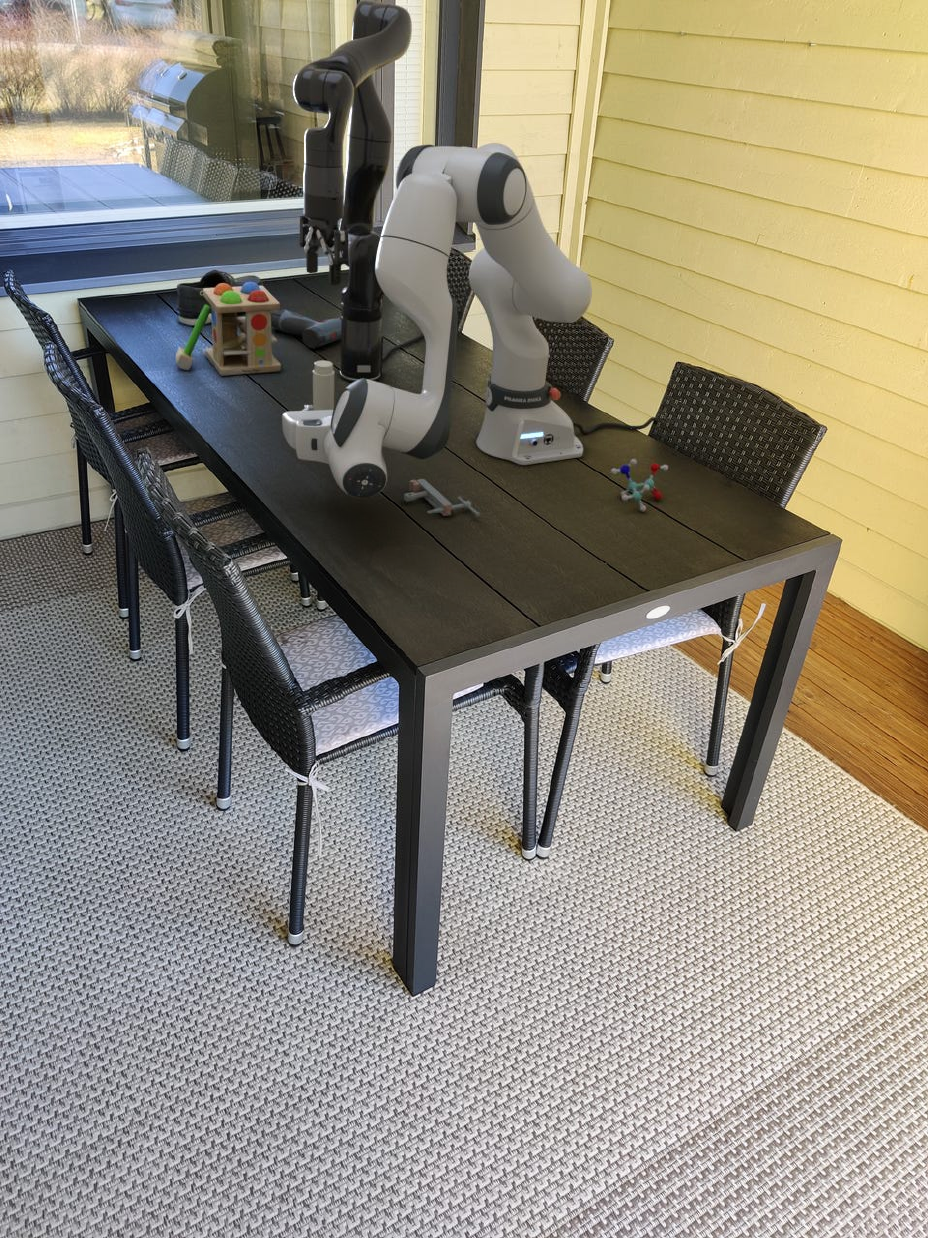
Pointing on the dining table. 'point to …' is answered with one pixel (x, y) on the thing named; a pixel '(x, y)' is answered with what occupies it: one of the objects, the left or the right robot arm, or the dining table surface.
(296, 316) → the power drill
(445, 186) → the right robot arm
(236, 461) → the dining table surface
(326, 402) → the white cylindrical bottle
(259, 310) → the pounding bench toy
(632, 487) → the molecular model
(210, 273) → the boat shoe
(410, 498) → the clamp
